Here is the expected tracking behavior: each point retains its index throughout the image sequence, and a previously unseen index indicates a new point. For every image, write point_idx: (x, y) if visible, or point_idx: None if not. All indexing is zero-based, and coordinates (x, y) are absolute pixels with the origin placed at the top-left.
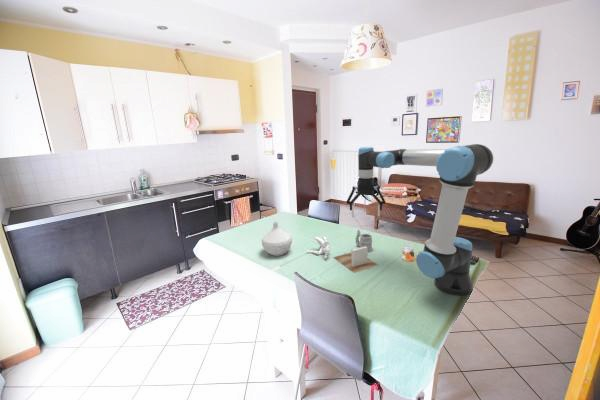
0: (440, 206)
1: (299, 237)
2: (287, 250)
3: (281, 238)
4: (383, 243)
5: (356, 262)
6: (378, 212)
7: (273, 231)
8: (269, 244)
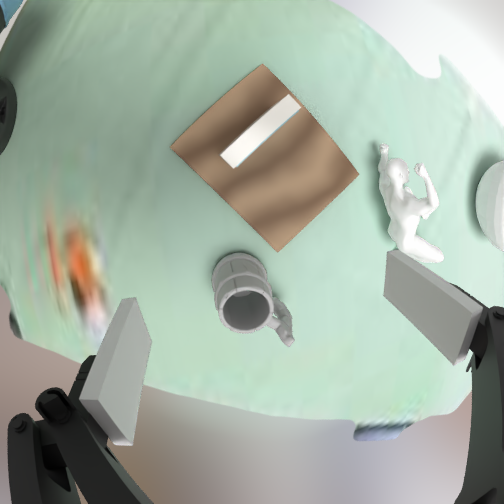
0: None
1: None
2: (479, 188)
3: None
4: (182, 351)
5: (262, 114)
6: (121, 326)
7: None
8: None
